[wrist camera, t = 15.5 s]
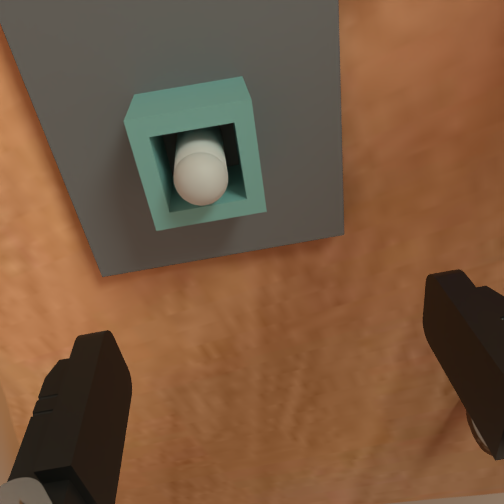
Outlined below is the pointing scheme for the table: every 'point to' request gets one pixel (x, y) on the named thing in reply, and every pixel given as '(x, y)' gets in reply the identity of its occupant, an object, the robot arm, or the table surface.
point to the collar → (189, 118)
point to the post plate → (174, 56)
